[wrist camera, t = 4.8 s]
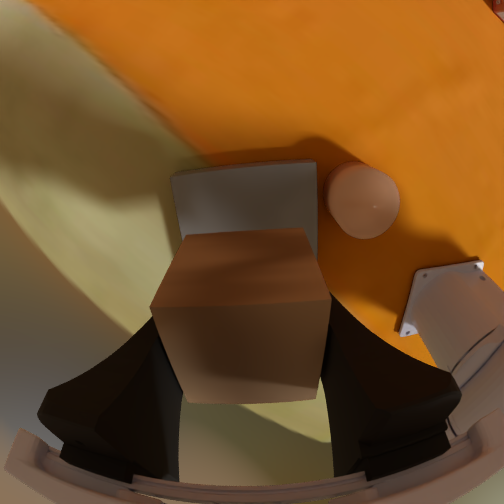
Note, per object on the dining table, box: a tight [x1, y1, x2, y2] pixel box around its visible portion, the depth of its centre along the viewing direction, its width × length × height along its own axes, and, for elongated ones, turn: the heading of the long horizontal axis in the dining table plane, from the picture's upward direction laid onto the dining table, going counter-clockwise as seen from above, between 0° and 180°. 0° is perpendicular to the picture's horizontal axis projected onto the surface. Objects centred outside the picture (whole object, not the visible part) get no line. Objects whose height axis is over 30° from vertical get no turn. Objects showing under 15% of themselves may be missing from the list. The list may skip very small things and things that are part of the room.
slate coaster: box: [170, 159, 318, 260], centre depth 19 cm, size 9×9×2 cm
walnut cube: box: [150, 227, 332, 404], centre depth 11 cm, size 5×5×5 cm
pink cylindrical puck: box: [323, 161, 400, 239], centre depth 17 cm, size 4×4×3 cm
